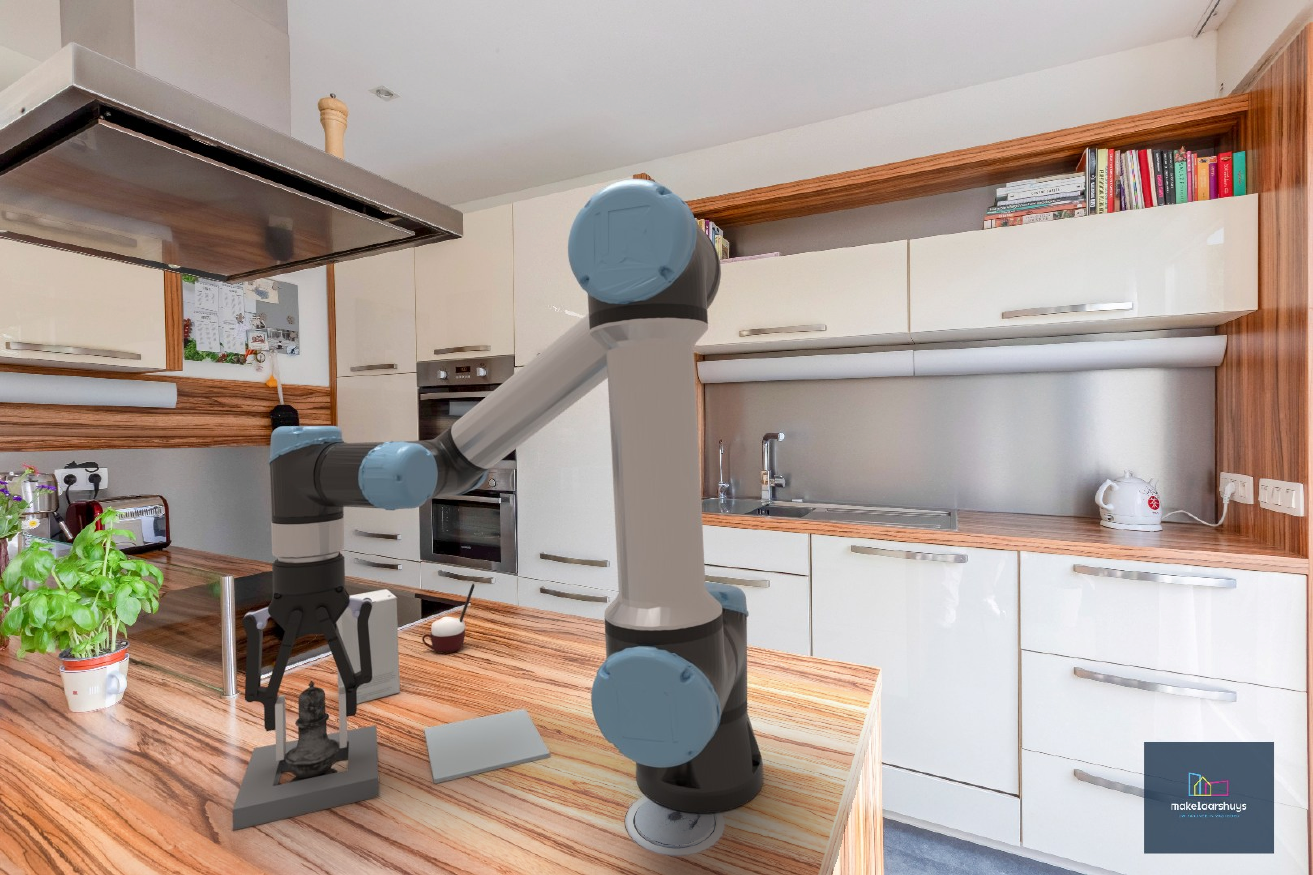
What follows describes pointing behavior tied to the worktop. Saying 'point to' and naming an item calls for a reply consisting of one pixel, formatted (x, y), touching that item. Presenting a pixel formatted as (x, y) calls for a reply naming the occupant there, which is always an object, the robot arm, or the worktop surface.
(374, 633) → the skincare box
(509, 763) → the mat
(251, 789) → the grey square frame
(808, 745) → the worktop surface
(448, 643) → the cocoa
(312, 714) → the salt shaker
